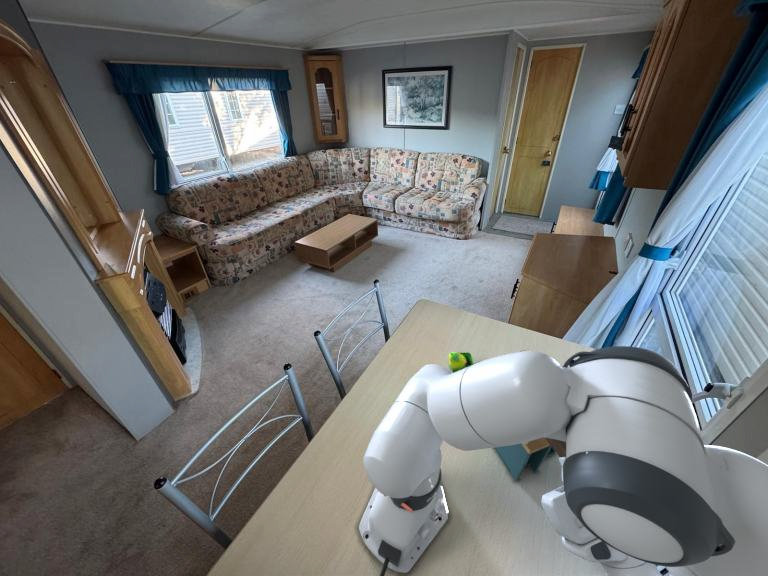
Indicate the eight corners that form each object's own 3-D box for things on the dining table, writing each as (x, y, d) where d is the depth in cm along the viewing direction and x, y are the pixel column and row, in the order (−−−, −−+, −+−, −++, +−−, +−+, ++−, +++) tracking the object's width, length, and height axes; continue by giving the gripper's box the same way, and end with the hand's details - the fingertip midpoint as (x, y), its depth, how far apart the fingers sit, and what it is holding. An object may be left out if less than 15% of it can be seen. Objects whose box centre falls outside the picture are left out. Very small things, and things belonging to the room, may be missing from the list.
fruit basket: (475, 388, 100) (481, 366, 93) (449, 389, 100) (452, 367, 93) (468, 361, 109) (472, 339, 102) (444, 362, 109) (446, 340, 102)
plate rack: (560, 461, 81) (597, 406, 65) (514, 481, 77) (541, 428, 62) (529, 421, 90) (555, 364, 75) (487, 437, 87) (505, 382, 71)
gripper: (670, 516, 55) (625, 435, 60) (582, 565, 50) (541, 473, 55) (640, 507, 60) (600, 434, 65) (557, 551, 55) (522, 469, 61)
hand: (572, 452), depth 60 cm, fingers closed on block, 3 cm apart
